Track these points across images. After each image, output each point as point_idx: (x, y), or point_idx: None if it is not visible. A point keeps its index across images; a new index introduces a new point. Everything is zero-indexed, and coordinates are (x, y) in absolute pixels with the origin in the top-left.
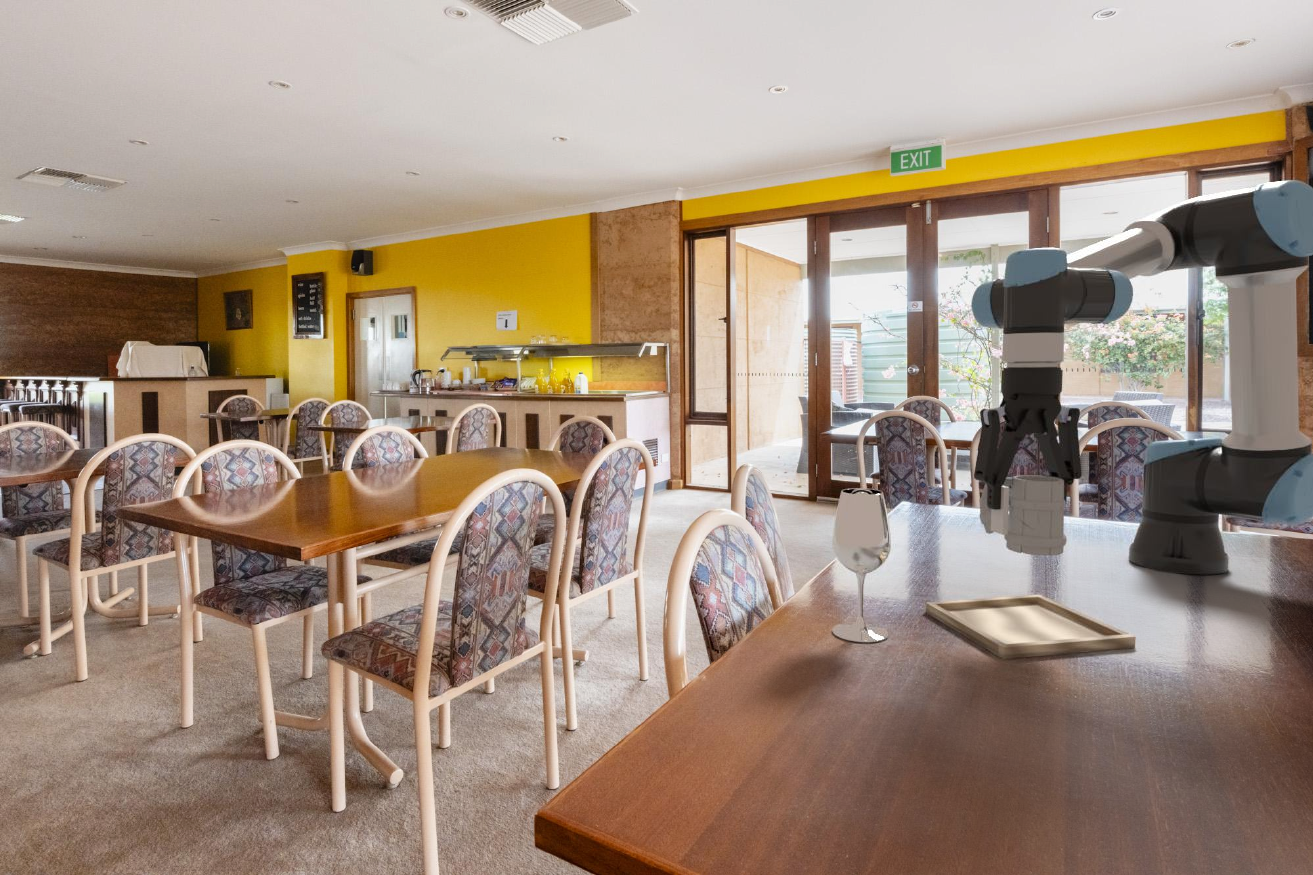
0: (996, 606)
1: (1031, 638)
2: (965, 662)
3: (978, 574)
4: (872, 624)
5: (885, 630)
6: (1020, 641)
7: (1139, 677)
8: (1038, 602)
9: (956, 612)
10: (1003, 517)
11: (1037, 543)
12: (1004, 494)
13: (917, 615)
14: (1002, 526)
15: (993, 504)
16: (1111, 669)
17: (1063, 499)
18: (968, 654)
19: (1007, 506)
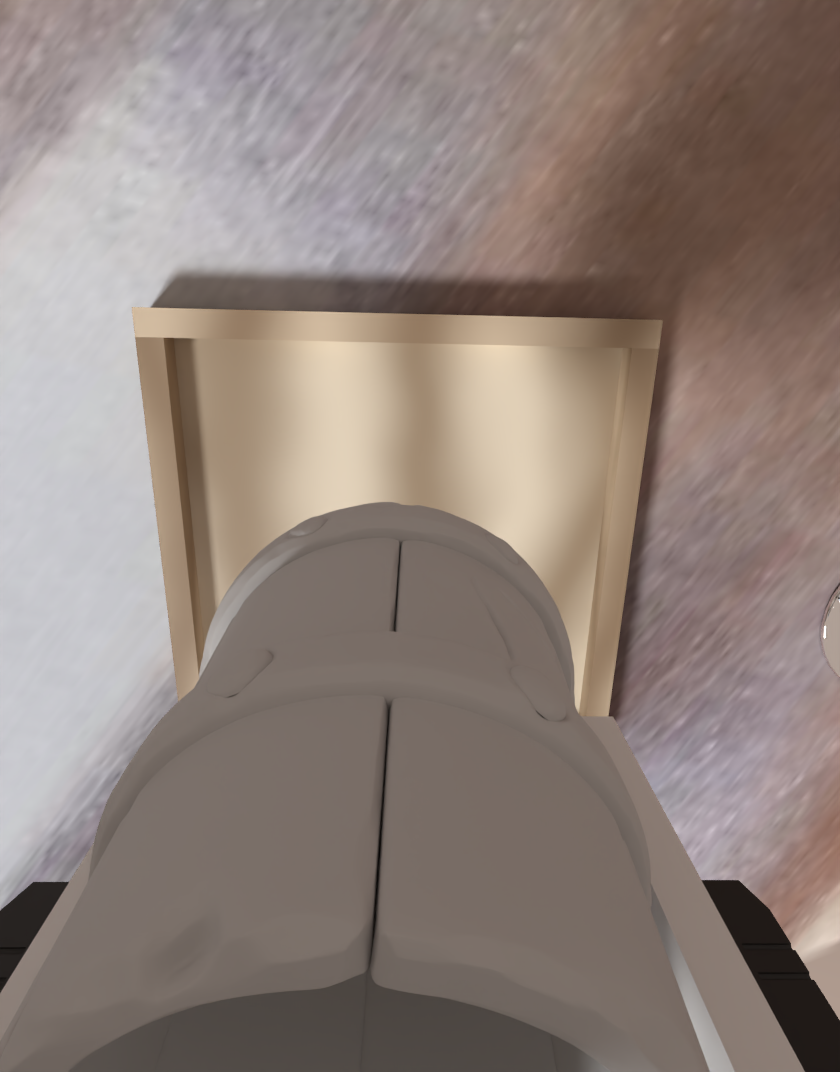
0: None
1: (456, 438)
2: (778, 326)
3: None
4: (835, 662)
5: (835, 609)
6: (509, 422)
7: (324, 51)
8: None
9: None
10: (656, 800)
11: (494, 536)
12: (759, 993)
13: (633, 720)
14: (631, 755)
15: (772, 923)
16: (367, 146)
17: (167, 767)
18: (720, 387)
19: (657, 876)
